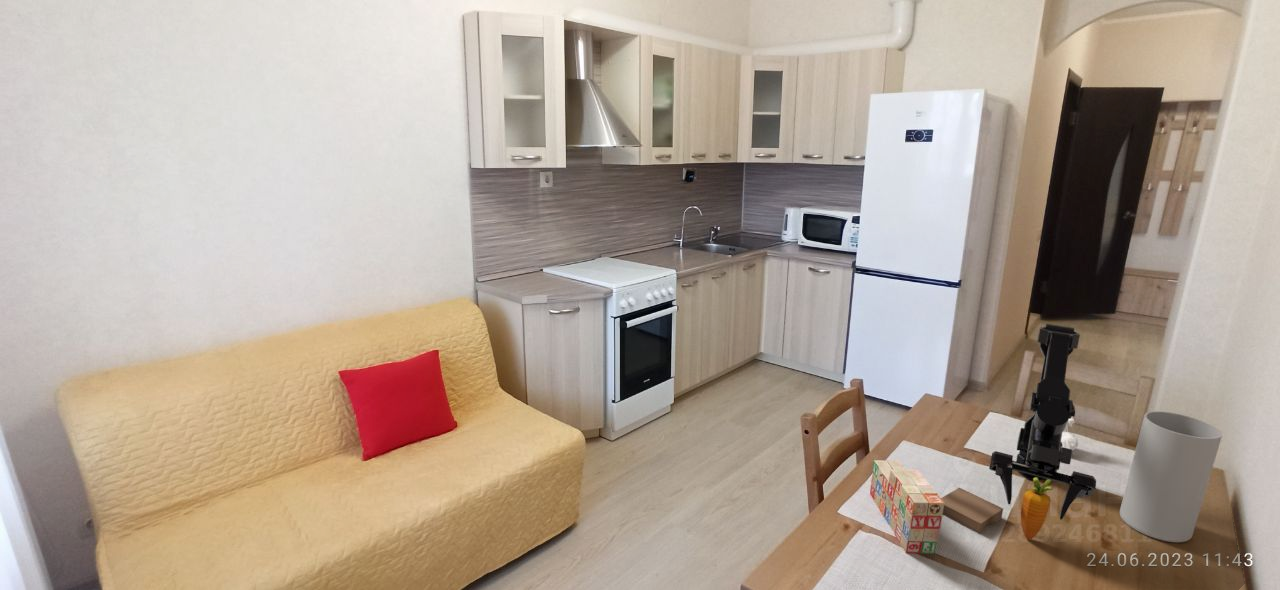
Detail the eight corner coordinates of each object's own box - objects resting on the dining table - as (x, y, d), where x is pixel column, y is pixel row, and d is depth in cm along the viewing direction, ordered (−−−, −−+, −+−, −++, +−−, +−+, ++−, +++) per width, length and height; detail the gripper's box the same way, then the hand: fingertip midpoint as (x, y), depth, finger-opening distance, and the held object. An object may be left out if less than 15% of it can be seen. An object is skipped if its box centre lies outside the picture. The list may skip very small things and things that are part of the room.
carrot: (1038, 535, 130) (1051, 473, 126) (1044, 549, 125) (1059, 486, 121) (1012, 530, 131) (1024, 469, 128) (1017, 543, 127) (1030, 481, 123)
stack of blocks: (868, 494, 144) (874, 448, 141) (894, 494, 144) (901, 448, 141) (905, 554, 123) (914, 501, 120) (936, 554, 123) (945, 502, 120)
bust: (1074, 465, 163) (1099, 431, 163) (1062, 453, 160) (1087, 419, 160) (1033, 444, 174) (1056, 413, 174) (1021, 432, 171) (1044, 400, 171)
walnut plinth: (957, 496, 143) (959, 487, 143) (1001, 518, 135) (1003, 508, 135) (934, 510, 138) (936, 500, 137) (978, 533, 130) (980, 523, 129)
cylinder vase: (1117, 527, 133) (1144, 425, 127) (1119, 502, 142) (1144, 406, 136) (1192, 552, 125) (1224, 445, 119) (1189, 524, 135) (1219, 423, 128)
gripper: (998, 417, 131) (986, 485, 124) (1105, 441, 121) (1097, 517, 115) (995, 436, 139) (983, 500, 133) (1094, 460, 129) (1086, 531, 123)
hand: (1034, 511), depth 126 cm, fingers open, 9 cm apart
